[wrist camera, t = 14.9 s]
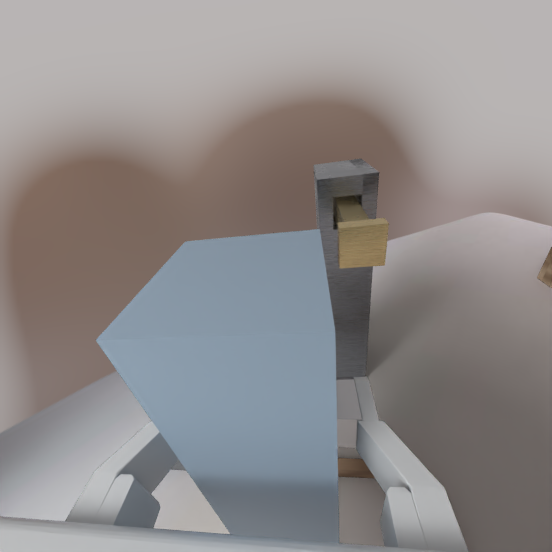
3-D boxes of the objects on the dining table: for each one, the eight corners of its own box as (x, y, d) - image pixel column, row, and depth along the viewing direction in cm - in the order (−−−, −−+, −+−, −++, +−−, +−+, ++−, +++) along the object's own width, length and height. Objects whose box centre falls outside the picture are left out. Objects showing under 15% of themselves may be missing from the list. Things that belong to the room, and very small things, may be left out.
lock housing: (327, 378, 28) (316, 179, 17) (323, 338, 33) (313, 164, 22) (365, 378, 28) (379, 172, 17) (355, 337, 33) (361, 158, 22)
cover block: (237, 544, 12) (95, 340, 5) (253, 438, 15) (185, 241, 9) (339, 553, 11) (335, 331, 4) (329, 440, 15) (319, 228, 8)
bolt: (339, 268, 14) (339, 228, 13) (322, 196, 27) (321, 172, 26) (384, 265, 14) (388, 223, 13) (346, 194, 27) (346, 169, 25)
